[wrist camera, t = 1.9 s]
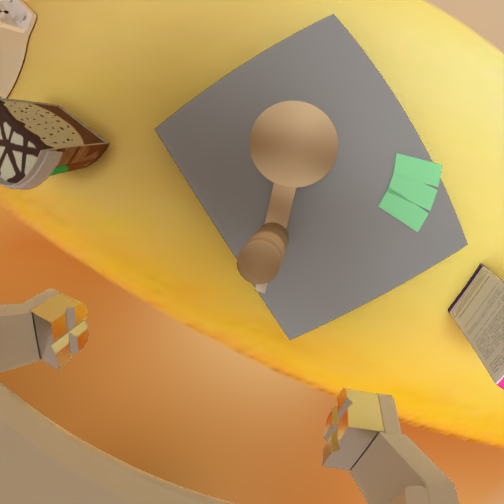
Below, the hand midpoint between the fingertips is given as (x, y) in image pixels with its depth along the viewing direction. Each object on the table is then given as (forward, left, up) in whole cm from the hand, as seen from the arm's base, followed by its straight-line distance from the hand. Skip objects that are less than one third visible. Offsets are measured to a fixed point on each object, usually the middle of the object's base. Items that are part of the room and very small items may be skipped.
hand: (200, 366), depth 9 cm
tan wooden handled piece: (-2, +2, -18) cm, 18 cm away
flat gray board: (-2, +5, -19) cm, 20 cm away
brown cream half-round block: (-19, -14, -19) cm, 31 cm away
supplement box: (+16, +14, -19) cm, 29 cm away
